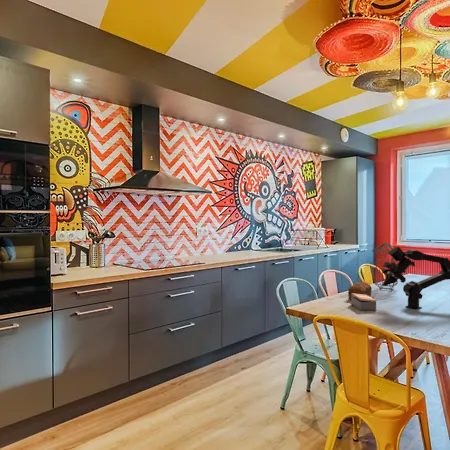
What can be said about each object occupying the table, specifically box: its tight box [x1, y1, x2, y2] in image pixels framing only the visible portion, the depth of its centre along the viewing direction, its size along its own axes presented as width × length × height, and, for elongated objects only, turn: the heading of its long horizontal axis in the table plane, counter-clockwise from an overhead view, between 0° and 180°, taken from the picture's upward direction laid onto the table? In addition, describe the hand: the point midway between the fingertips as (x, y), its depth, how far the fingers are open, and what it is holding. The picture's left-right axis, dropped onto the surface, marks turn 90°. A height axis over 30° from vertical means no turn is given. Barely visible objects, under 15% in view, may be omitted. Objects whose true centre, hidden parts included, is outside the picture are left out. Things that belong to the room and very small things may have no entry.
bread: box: [347, 281, 373, 301], centre depth 229 cm, size 19×11×10 cm, turn 143°
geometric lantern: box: [371, 242, 398, 292], centre depth 256 cm, size 16×16×35 cm
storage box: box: [350, 297, 377, 312], centre depth 205 cm, size 9×14×5 cm, turn 1°
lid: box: [351, 293, 377, 303], centre depth 205 cm, size 9×14×1 cm, turn 1°
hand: (383, 285), depth 205 cm, fingers closed
